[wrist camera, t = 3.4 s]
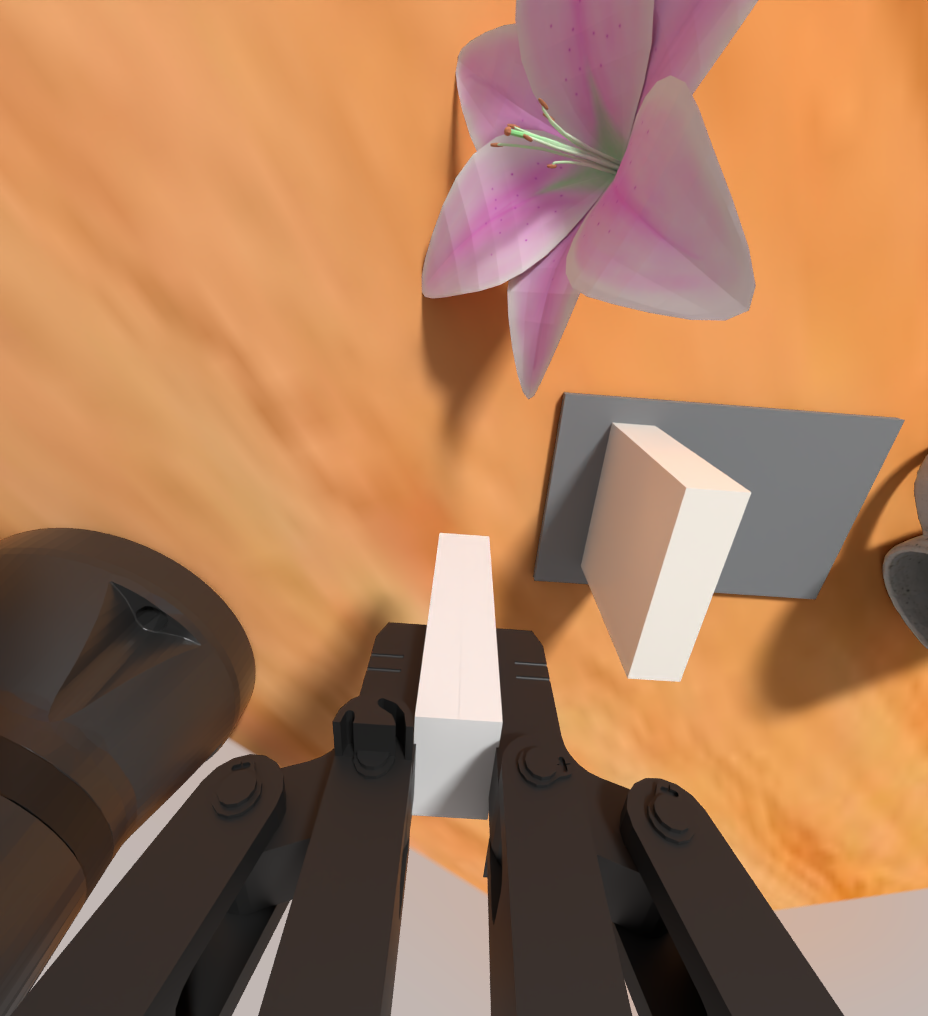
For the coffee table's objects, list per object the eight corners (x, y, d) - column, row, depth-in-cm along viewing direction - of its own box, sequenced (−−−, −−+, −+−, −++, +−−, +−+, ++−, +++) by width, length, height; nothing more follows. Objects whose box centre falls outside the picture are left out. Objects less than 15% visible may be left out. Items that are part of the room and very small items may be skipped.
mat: (533, 575, 22) (534, 580, 22) (563, 392, 18) (565, 394, 18) (809, 594, 23) (815, 599, 22) (896, 417, 19) (904, 420, 18)
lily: (607, -159, 13) (407, -712, 6) (963, 66, 11) (1319, -284, 4) (433, 252, 21) (253, 244, 13) (633, 418, 19) (555, 511, 12)
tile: (580, 566, 22) (627, 678, 15) (612, 422, 19) (686, 487, 12) (617, 568, 22) (680, 681, 15) (655, 425, 19) (751, 492, 12)
